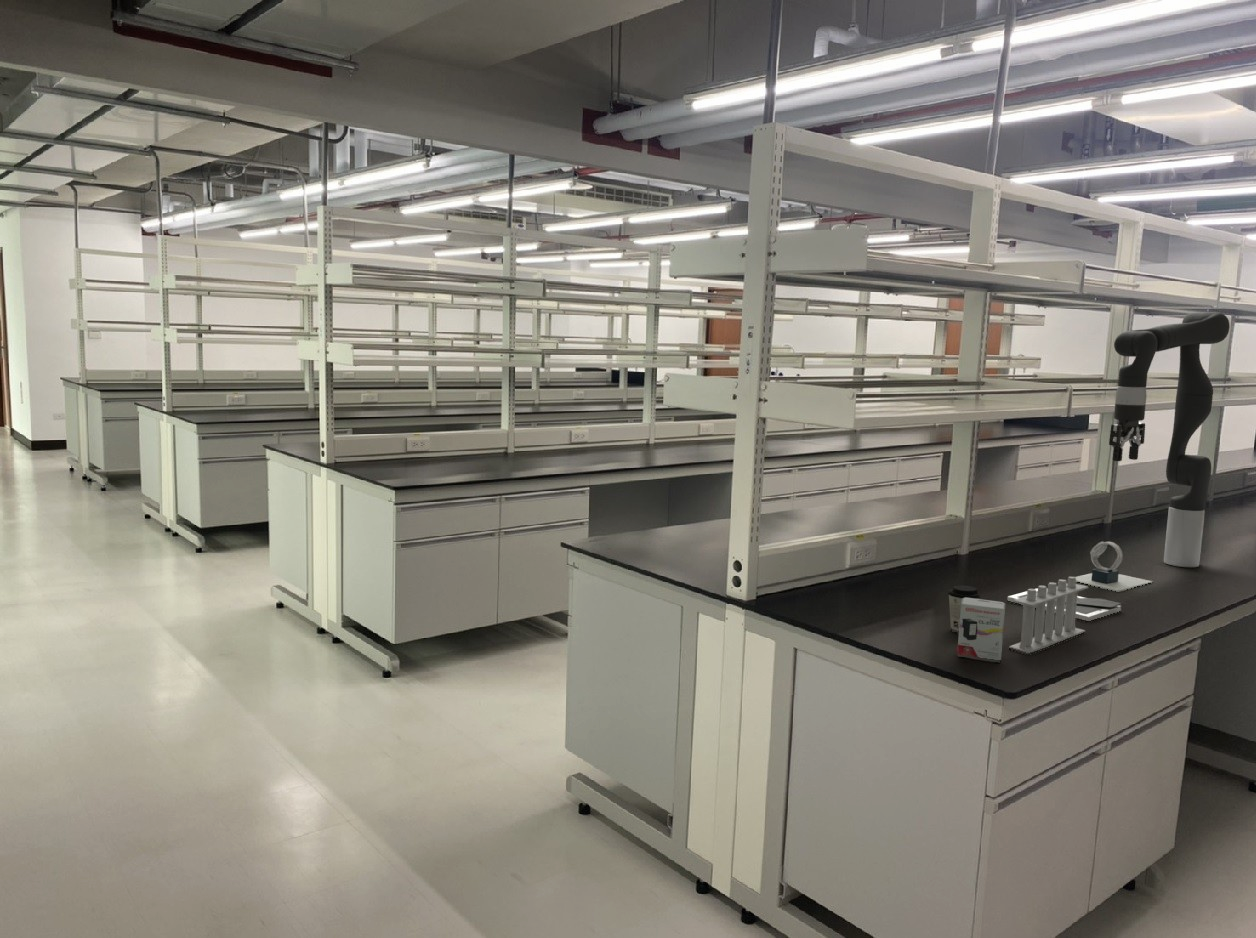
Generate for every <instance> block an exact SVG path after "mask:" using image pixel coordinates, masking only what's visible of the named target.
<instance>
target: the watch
mask: <svg viewBox="0 0 1256 938" xmlns="http://www.w3.org/2000/svg"><path fill="white" fill-rule="evenodd" d="M1108 545H1109V546H1111V547H1112V548H1114V550H1115V552H1116V554H1117V556H1116V558H1115V560H1114V562H1113V564H1111V566H1110V567H1104V566H1103V565H1101V563H1099V560H1098V558H1100V556H1101V555H1102V554H1104V553H1105V551H1106V550H1107V548H1108ZM1089 554H1090V560H1091V562H1092V564H1093V566H1095V567H1096V568H1093V569H1092V570H1091V571H1092V572H1091V573H1092V580H1091V581H1096V582H1100V583H1104V584H1109V583H1114V582H1118V574H1120V573H1119V571H1120V570H1118V569H1117V568H1118V567H1119V566H1120V565H1121V564H1122V562H1123V559H1124V558H1123V557H1124V555H1123V551H1122V549H1121V547H1120V546H1119V545H1118V544H1117V543H1115V542H1113V541H1100V542H1098V543H1096V545H1094V547H1092V548H1091V550H1090V553H1089Z"/></svg>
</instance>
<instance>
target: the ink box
mask: <svg viewBox="0 0 1256 938" xmlns="http://www.w3.org/2000/svg"><path fill="white" fill-rule="evenodd" d="M1005 613H1006V603H1005V602H1003V601H997V600H991V599H990V600H988V599H983V598H982V599H980V598H979V599H974V598H962V601H961V613H960V625H959V633H958V640H957V649H956V650H957V651H956V652H957V653H956V655H957V654H960V655H966V656H974V657H980V658H987V659H994V660H1001V661H1002V653H1003V638H1004V627H1005V615H1006V614H1005Z"/></svg>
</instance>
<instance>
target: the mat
mask: <svg viewBox="0 0 1256 938" xmlns="http://www.w3.org/2000/svg"><path fill="white" fill-rule="evenodd" d="M1075 577H1076V580H1077V581H1076V583H1077V582H1080V583H1079V584H1081V583H1084V584H1083V585H1085V584H1088V585H1087V586H1090V585H1091V586H1090V587H1094V586H1095V587H1094V588H1098V587H1100V588H1099V589H1103V590H1107V589H1108V590H1107V591H1111V590H1112V591H1111V592H1115V591H1116V593H1119V592H1124V591H1127V589H1128V590H1132V589H1135V588H1134V587H1136V588H1138V587H1137V586H1140V587H1142V585H1143V586H1146V585H1145V584H1147V585H1149V584H1148V583H1151V584H1153V583H1152V582H1154V581H1153V580H1147V579H1144V578H1138V577H1134V576H1129V575H1125V574H1120V573H1119V574H1118V582H1114V583H1109V584H1104V583H1100V582H1096V581H1091V580H1092V572H1091V573H1087V574H1083V575H1078V576H1075ZM1131 588H1132V589H1131Z"/></svg>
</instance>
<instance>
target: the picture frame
mask: <svg viewBox="0 0 1256 938" xmlns="http://www.w3.org/2000/svg"><path fill="white" fill-rule="evenodd" d="M1034 589H1035V590H1036V593H1038V587H1037V588H1034ZM1027 591H1028V590H1026V591H1022V592H1019V593H1016V594H1012V595H1008V596H1007V598H1006V599H1007V600H1008V601H1011V602H1013V600H1015V599H1018V598H1021V597H1025V596H1027ZM1011 602H1010V603H1011ZM1056 602H1057V599H1056V601H1055V613H1056ZM1015 603H1016V602H1015ZM1015 603H1014V604H1015ZM1019 604H1020V603H1019ZM1022 605H1023V604H1021V605H1020V606H1022ZM1046 606H1047V602H1046V603H1045V610H1046ZM1036 607H1037V605H1035V608H1036ZM1065 607H1066V597H1065ZM1119 611H1121V612H1122V603H1121V602H1117V601H1112V600H1108V599H1105V598H1093V597H1092V598H1091V597H1090V598H1089V597H1083V596H1079V595H1077V605H1076V616H1075V618H1079V619H1082V620H1086V621H1091V620H1094V619H1097V618H1100V619H1102V618H1101V617H1103V618H1105V617H1104V616H1106V617H1108V616H1107V615H1109V616H1111V615H1110V614H1112V615H1114V614H1113V613H1115V614H1118V613H1120V612H1119ZM1117 612H1118V613H1117ZM1064 615H1065V609H1064ZM1097 620H1098V619H1097ZM1094 621H1095V620H1094ZM1091 622H1092V621H1091Z"/></svg>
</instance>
